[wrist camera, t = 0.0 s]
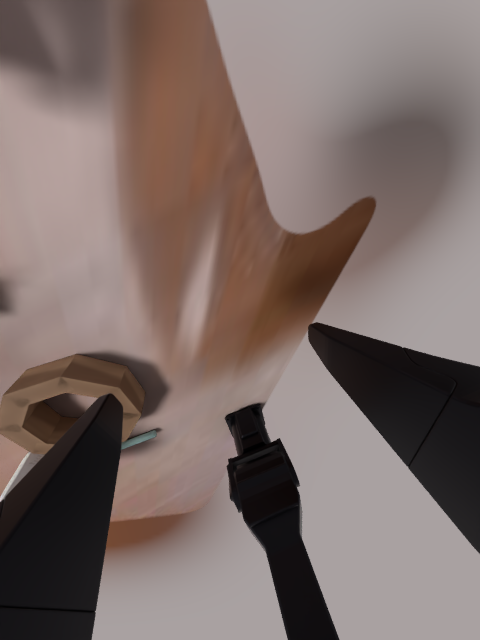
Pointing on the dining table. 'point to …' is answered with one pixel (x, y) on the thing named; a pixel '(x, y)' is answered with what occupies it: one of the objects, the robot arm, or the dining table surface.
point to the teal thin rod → (138, 439)
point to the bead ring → (57, 378)
